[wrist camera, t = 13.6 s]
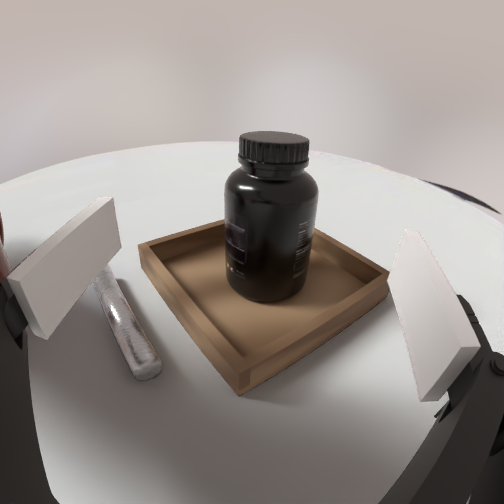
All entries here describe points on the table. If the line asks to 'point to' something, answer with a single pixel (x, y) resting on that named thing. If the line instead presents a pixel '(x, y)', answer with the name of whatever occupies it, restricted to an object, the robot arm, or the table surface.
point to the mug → (3, 256)
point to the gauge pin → (126, 327)
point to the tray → (259, 313)
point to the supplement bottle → (269, 216)
